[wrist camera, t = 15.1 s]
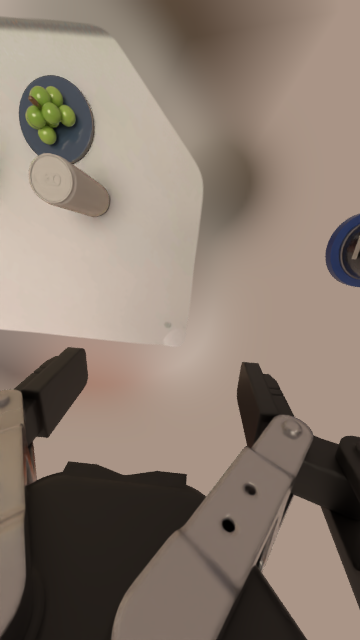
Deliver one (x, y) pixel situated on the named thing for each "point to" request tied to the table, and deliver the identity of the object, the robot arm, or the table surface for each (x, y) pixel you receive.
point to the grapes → (56, 118)
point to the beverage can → (67, 186)
